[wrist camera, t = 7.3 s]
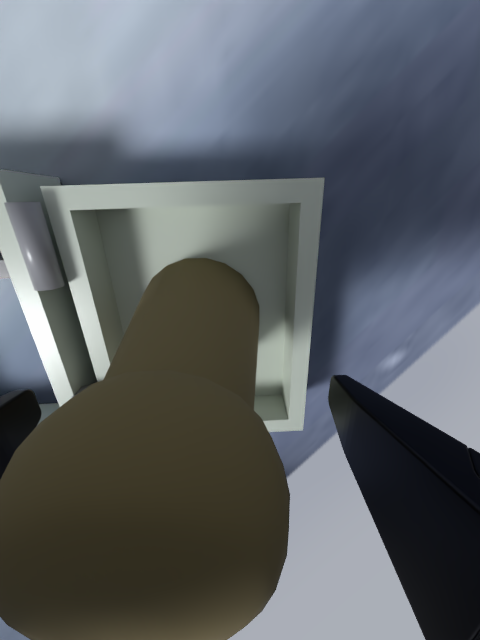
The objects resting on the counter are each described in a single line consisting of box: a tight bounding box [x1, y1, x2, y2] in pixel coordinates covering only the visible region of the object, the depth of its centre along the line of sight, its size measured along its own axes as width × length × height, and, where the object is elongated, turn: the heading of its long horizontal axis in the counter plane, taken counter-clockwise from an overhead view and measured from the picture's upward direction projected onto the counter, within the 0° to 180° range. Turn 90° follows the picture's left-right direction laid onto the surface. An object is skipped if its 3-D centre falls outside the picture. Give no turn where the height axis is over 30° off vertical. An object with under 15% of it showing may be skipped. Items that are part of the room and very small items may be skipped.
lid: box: [40, 178, 325, 432], centre depth 13 cm, size 12×10×3 cm
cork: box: [0, 258, 290, 640], centre depth 9 cm, size 6×6×11 cm
